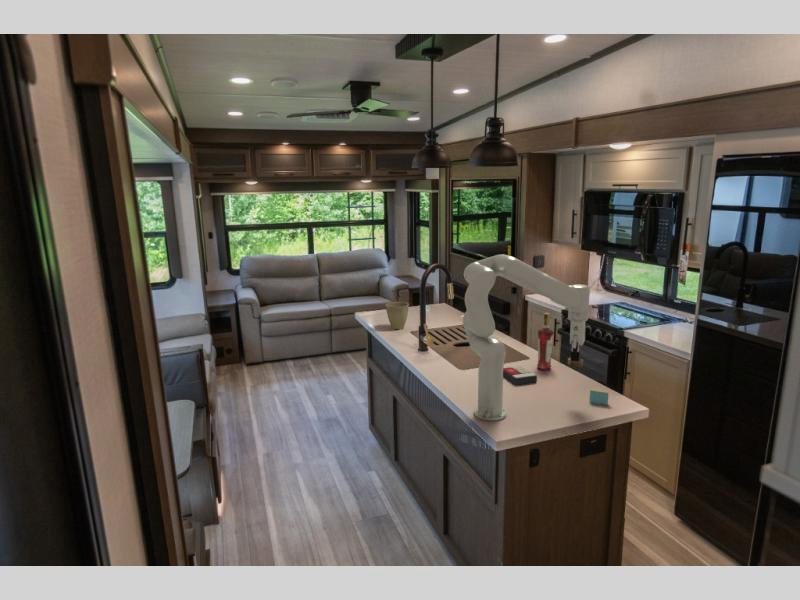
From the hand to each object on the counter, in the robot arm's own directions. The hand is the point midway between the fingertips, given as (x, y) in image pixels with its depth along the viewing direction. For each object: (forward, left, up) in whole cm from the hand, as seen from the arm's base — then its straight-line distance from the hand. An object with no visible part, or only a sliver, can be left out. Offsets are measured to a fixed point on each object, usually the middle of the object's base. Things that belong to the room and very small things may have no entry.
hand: (575, 358), depth 205 cm
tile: (+4, -10, -19) cm, 22 cm away
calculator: (+18, +27, -20) cm, 38 cm away
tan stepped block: (0, 0, -3) cm, 3 cm away
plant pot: (+73, +117, -19) cm, 139 cm away
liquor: (+36, +18, -19) cm, 45 cm away
